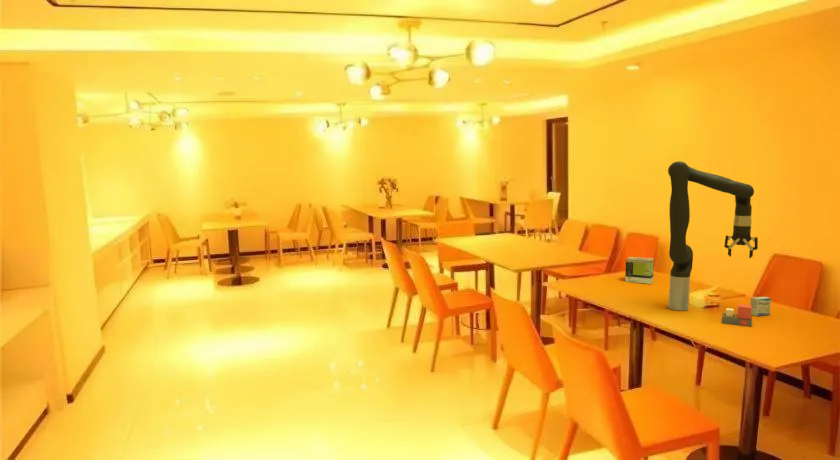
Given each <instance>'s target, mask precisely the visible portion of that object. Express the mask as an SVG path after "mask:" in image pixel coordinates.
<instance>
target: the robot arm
mask: <svg viewBox="0 0 840 460" xmlns="http://www.w3.org/2000/svg"><path fill="white" fill-rule="evenodd" d="M667 173H668V175H669V178H670V184H671V194H670V200H669V209H668V210H669V227H670V228H669V231H670V239H669V240H670V241H669V242H670V243H669V252H668V254H669V255H668V256H669V258H670V260H671V261H672V262H673V265H672V267H671V269H670V274H669V276H670V277H669V290H668V303H667V304H668V305H667V308H668V309H669V310H673V311H677V312H678V311H681V312H682V311H683V312H684V311H688V310H689V306H690V305H689V304H690V303H689V301H690V286H691V273H692V270H693V260H694V253H693V252H694V251H693V248H692V247H691V246H690V245H689V244H687V231H688V229H689V224H690V217H691V213H690V212H691V211H690V198H689V190H688V189H689V186H688V184H689V182H692V183H696V184H697V185H702V186H703V187H706V188H709V189H712V190H716V191H719V192H721V193H725V194H730V195H733V196H734V197H735V198H734V200H735V209H734V218H733V225H732V226H733V228H732V229H733V231H732V235H728V234H726V235H725V239H724V245H723V246H724V248H726V249H727V250H728V251H727V255H728V256H729V257H732V248H733V247H734V246H735V245H736V246H747V247H748V249H749V254H748V255H749V259H751V258H752V257H753V255H754V251H757V250H758V248H759V247H758V245H759V244H758V243H759V240H758V236H755V237H753V236H751V230H752V209H753V208H752V205H751V204H752V203H751V201H752V200H751V198H752V197H753V196H754V194H755V189H754V187H753V186H752V185H750V184H748V183H745V182H741V181H736V180H734V179H731V178H728V177H725V176H722V175H719V174H715V173H710V172H705V171H701V170H698V169H696V168H694V167H690V166H689V165H688V164H687V163H686V162H684V161H678V160H677V161H674V162H672V163H671V164H670V165H669V166H668V169H667ZM731 239H732V243H731V244H729V243H728V242H729V240H731ZM750 241H753V242H754V246H752V245H751V243H750ZM728 244H729V245H728Z"/></svg>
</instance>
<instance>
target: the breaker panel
mask: <svg viewBox="0 0 840 460" xmlns="http://www.w3.org/2000/svg"><path fill="white" fill-rule="evenodd" d="M721 314H722V315H721V316H722V317H721V324H725V325H733V326H743V327H752V322H753V319H752V316H751V320H750V319H742V318H737V313H733V317H728V316H726V312H722V313H721Z"/></svg>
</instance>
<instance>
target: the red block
mask: <svg viewBox="0 0 840 460" xmlns="http://www.w3.org/2000/svg"><path fill="white" fill-rule="evenodd" d="M736 314H737V318H742V319H750V320H751V317H752V315H751V305H750V304H743V303H738V304H737V313H736Z"/></svg>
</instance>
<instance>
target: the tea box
mask: <svg viewBox="0 0 840 460" xmlns="http://www.w3.org/2000/svg"><path fill="white" fill-rule="evenodd" d="M654 264H655V259H654V258H653V257H637V256H636V257H635V256H628V257H627V258H625V275H624V276H625V277H624V278H625V282H628V283H636V284H647V285H648V284H649V285H651V284H652V283H653V282H654V270H655V269H654Z"/></svg>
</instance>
